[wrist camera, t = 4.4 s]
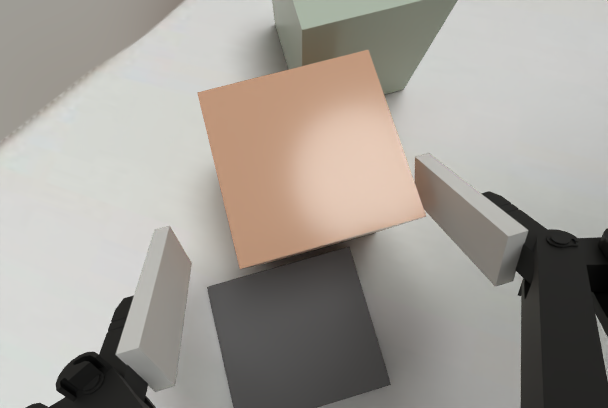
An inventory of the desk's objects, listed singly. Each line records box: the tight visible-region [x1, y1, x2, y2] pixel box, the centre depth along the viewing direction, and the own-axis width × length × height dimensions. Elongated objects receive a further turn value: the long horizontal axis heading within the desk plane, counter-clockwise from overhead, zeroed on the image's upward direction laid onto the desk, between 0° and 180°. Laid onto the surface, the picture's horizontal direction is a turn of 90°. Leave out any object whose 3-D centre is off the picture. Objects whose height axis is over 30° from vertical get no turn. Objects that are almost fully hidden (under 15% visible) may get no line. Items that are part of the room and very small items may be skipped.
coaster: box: [207, 247, 391, 408], centre depth 23 cm, size 11×10×1 cm
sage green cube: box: [272, 0, 457, 94], centre depth 22 cm, size 9×9×10 cm
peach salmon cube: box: [198, 50, 426, 269], centre depth 20 cm, size 9×9×10 cm
